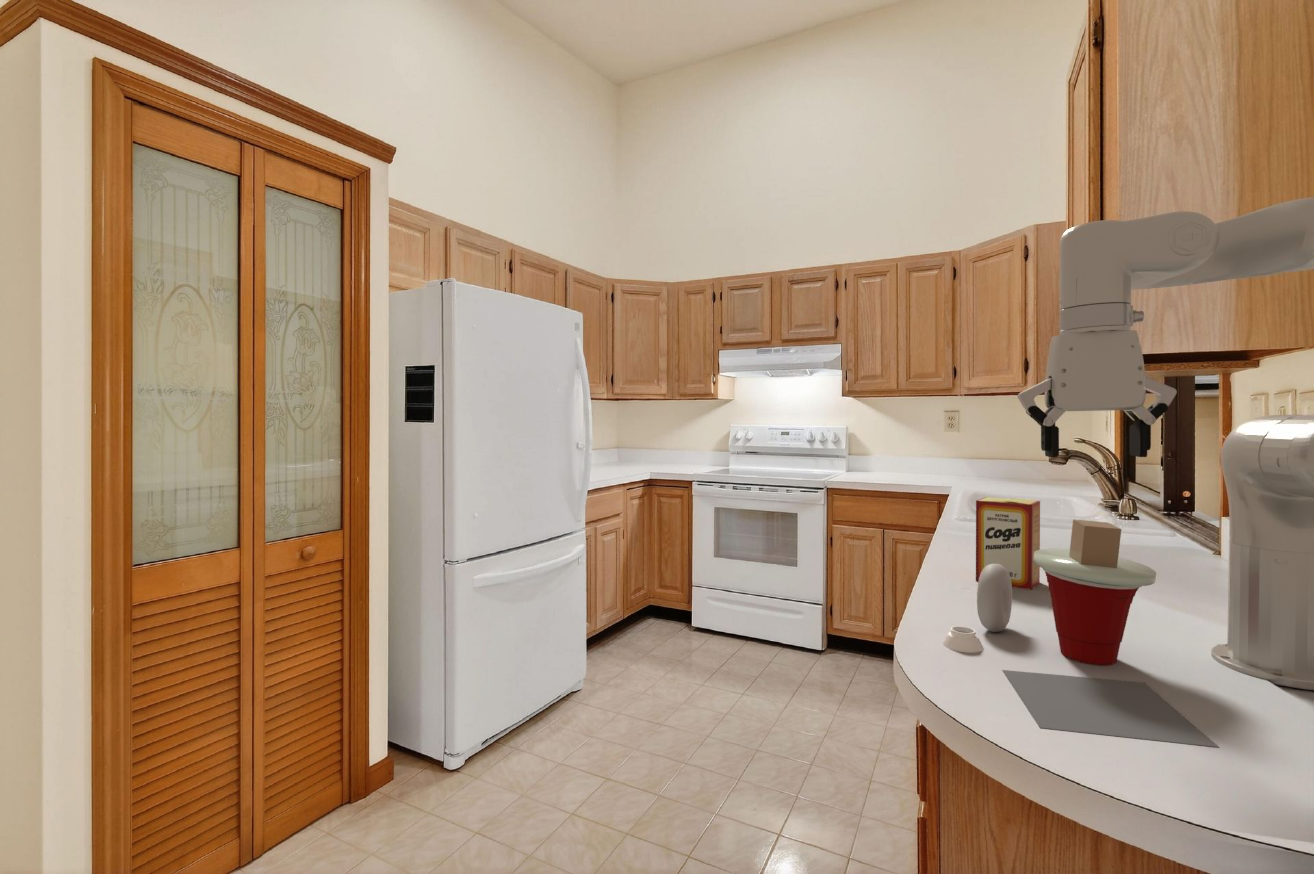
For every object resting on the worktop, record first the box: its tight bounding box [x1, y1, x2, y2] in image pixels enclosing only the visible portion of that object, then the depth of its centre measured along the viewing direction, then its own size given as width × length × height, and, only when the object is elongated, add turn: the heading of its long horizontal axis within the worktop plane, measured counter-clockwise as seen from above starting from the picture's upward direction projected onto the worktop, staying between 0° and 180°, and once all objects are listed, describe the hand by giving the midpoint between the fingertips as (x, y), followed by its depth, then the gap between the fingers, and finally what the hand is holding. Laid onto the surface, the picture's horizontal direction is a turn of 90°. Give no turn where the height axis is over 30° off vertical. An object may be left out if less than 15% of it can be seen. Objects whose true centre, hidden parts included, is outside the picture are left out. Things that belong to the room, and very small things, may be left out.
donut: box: [976, 564, 1013, 633], centre depth 94 cm, size 10×4×10 cm, turn 141°
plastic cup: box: [1042, 568, 1143, 666], centre depth 82 cm, size 11×11×12 cm
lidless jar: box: [942, 625, 985, 654], centre depth 86 cm, size 5×3×5 cm
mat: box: [1001, 669, 1221, 749], centre depth 69 cm, size 15×15×1 cm
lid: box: [1033, 519, 1157, 587], centre depth 81 cm, size 13×13×6 cm
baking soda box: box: [975, 496, 1041, 591], centre depth 121 cm, size 10×6×16 cm
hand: (1094, 456), depth 81 cm, fingers open, 9 cm apart
